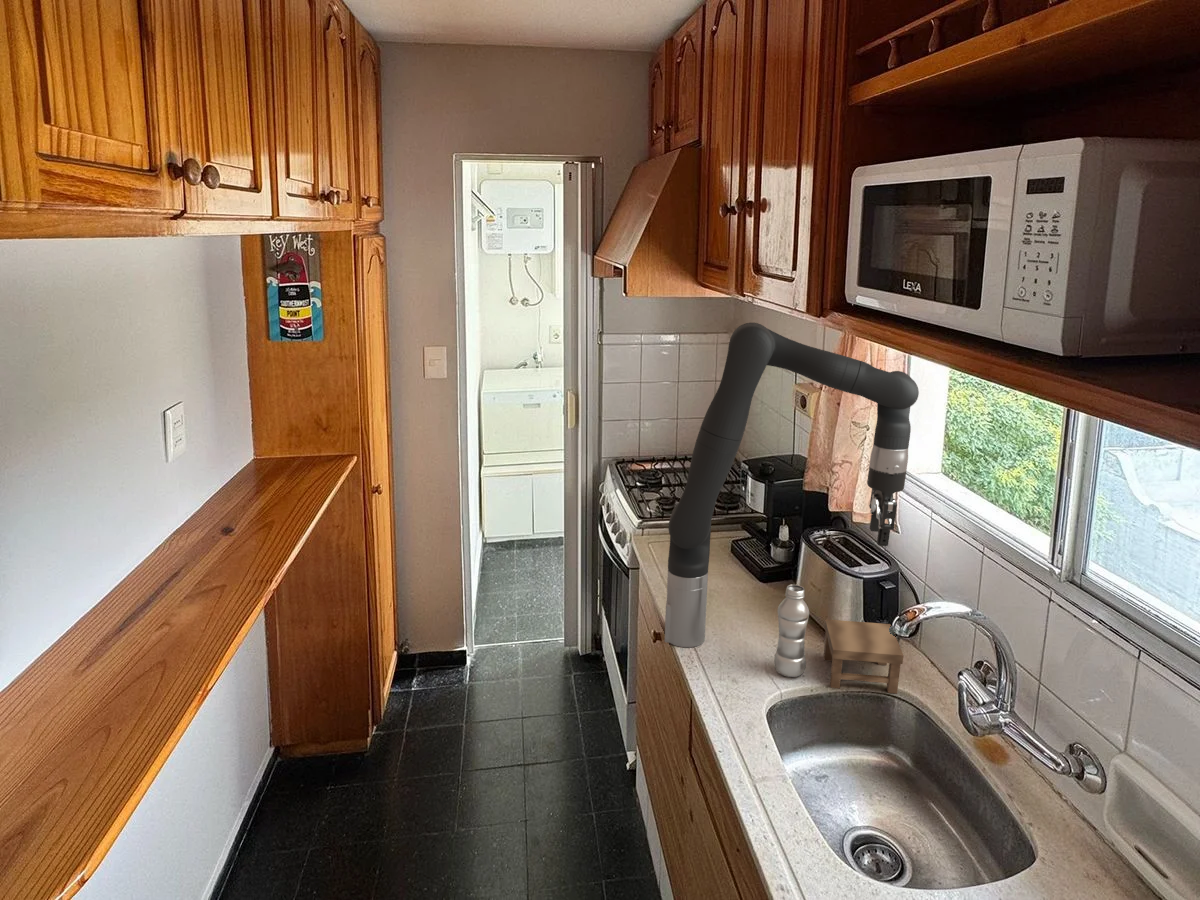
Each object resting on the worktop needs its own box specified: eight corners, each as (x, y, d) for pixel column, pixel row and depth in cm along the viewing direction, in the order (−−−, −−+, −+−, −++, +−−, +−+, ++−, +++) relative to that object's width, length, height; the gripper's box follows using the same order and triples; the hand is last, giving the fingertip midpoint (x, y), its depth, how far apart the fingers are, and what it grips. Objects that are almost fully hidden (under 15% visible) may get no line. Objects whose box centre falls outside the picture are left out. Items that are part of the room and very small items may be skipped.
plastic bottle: (805, 682, 176) (812, 596, 171) (772, 678, 177) (779, 592, 172) (804, 667, 182) (811, 583, 177) (773, 663, 183) (779, 580, 178)
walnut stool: (829, 688, 174) (833, 649, 171) (821, 655, 187) (825, 619, 185) (898, 694, 172) (903, 655, 170) (886, 660, 185) (890, 624, 183)
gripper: (863, 456, 183) (855, 525, 187) (876, 474, 169) (866, 548, 173) (899, 458, 182) (889, 528, 186) (914, 477, 168) (903, 551, 172)
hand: (878, 538), depth 180 cm, fingers open, 8 cm apart
